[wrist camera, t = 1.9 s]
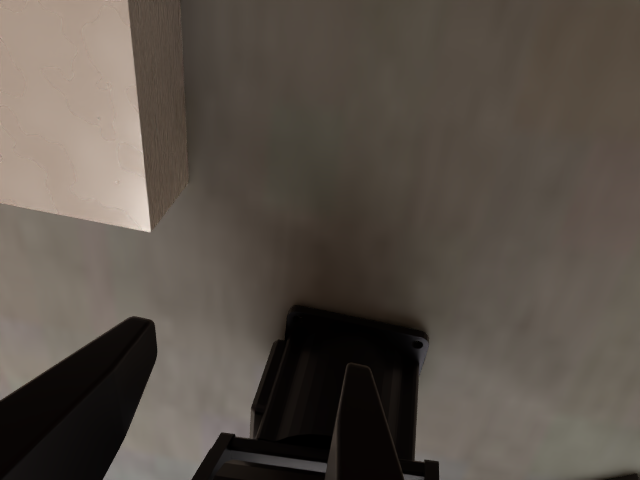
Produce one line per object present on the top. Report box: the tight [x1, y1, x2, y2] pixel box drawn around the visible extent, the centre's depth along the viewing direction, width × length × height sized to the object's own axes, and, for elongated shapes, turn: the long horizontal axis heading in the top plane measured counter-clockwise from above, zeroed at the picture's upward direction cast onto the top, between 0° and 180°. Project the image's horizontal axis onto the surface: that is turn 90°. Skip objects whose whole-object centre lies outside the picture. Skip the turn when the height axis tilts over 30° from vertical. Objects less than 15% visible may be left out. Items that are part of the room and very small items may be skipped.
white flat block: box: [0, 0, 189, 232], centre depth 19 cm, size 10×9×4 cm
